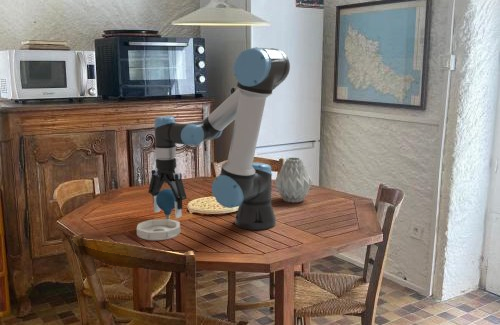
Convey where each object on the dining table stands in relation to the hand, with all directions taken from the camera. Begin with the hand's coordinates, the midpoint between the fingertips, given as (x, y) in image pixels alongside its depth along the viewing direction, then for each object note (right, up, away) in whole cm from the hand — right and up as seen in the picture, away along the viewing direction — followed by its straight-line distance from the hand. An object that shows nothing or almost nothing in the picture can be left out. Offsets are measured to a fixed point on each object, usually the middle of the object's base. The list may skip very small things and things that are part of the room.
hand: (167, 214), depth 194 cm
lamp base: (-1, -5, -15) cm, 16 cm away
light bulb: (0, -2, 0) cm, 2 cm away
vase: (+51, +3, +27) cm, 57 cm away
